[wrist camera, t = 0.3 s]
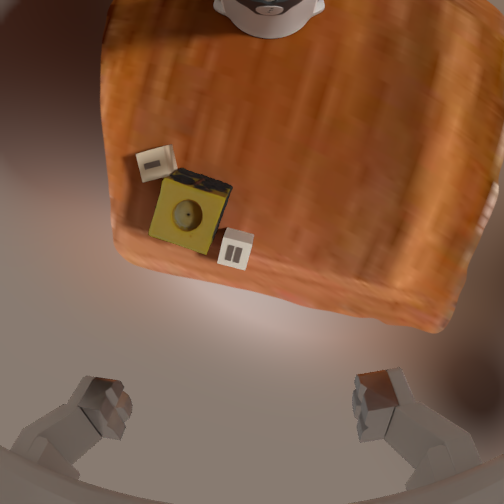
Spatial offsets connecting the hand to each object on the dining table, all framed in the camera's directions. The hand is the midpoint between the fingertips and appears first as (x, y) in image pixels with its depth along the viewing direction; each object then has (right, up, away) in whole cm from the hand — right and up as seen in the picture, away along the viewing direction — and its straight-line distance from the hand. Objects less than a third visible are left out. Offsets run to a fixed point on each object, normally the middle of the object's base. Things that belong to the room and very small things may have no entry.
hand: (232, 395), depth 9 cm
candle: (-9, +14, +45) cm, 48 cm away
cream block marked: (-2, +6, +48) cm, 48 cm away
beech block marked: (-15, +21, +42) cm, 50 cm away
